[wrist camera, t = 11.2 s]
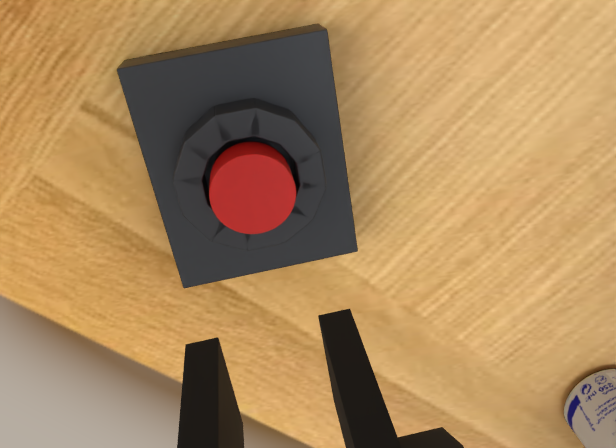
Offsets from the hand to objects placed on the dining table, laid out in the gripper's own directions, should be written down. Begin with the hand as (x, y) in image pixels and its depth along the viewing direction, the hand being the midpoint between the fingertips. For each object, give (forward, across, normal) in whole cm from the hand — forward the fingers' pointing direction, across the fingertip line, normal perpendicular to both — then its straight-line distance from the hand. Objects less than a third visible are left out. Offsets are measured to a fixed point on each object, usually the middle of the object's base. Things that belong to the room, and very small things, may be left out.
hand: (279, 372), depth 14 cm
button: (+13, 0, 0) cm, 13 cm away
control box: (+17, 0, 0) cm, 17 cm away
